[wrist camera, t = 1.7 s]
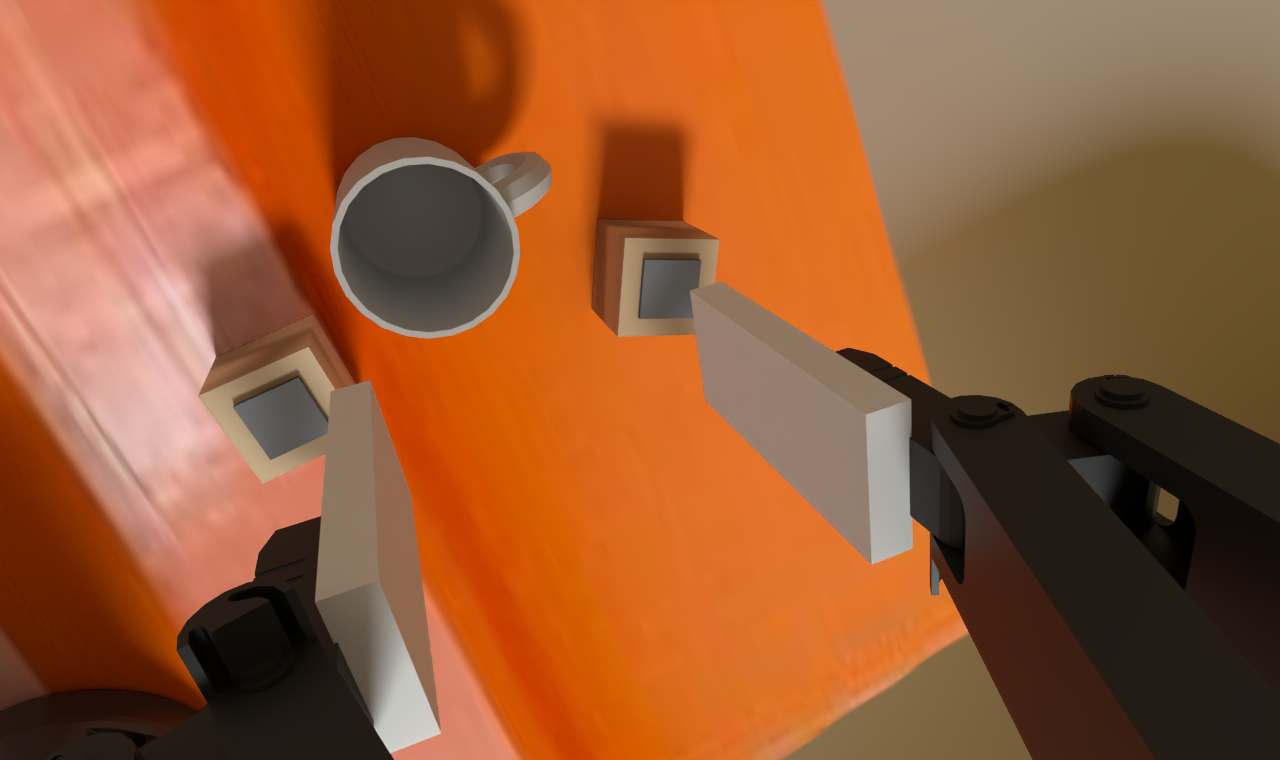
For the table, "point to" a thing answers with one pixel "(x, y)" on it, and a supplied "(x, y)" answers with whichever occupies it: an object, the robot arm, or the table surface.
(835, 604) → the table surface
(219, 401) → the oak block
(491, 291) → the cup
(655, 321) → the oak block
